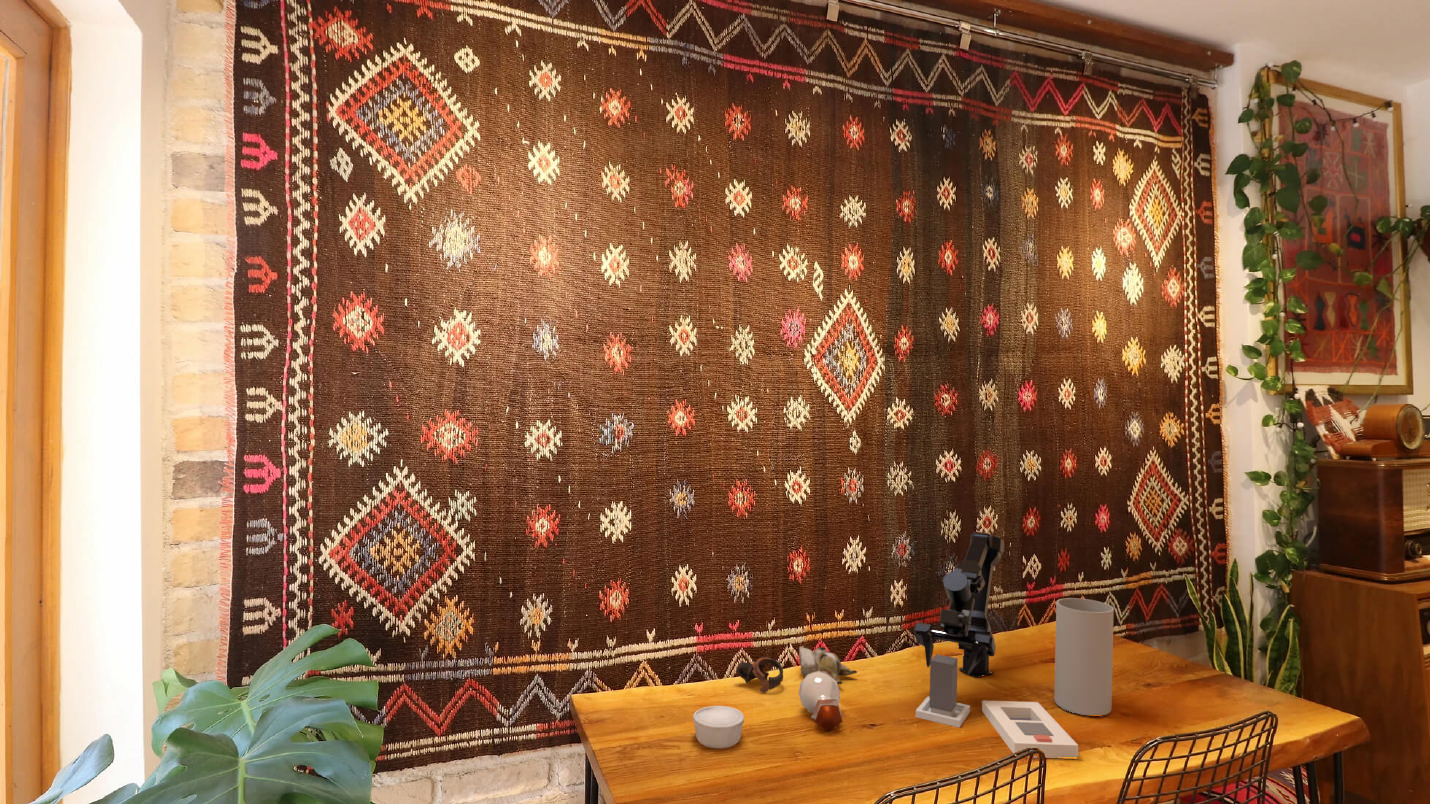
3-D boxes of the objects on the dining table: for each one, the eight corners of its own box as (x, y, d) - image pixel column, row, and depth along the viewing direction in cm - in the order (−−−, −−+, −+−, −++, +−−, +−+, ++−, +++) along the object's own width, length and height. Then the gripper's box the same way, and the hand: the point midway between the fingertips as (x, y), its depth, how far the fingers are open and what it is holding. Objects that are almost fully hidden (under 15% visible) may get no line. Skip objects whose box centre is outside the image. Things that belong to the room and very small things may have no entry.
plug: (935, 708, 181) (936, 654, 181) (956, 713, 178) (957, 658, 178) (929, 715, 177) (930, 660, 176) (951, 720, 174) (952, 664, 174)
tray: (927, 704, 184) (927, 696, 184) (969, 713, 179) (970, 705, 179) (915, 718, 176) (915, 710, 176) (959, 729, 170) (959, 720, 170)
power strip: (982, 712, 180) (982, 697, 180) (1037, 714, 179) (1037, 699, 179) (1014, 757, 158) (1015, 740, 158) (1078, 759, 157) (1078, 742, 157)
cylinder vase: (1118, 720, 177) (1120, 614, 176) (1061, 715, 179) (1063, 610, 179) (1102, 699, 189) (1104, 600, 189) (1049, 694, 191) (1051, 596, 191)
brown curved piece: (776, 679, 200) (786, 658, 196) (776, 708, 192) (786, 686, 188) (733, 668, 200) (741, 646, 196) (730, 696, 191) (739, 674, 187)
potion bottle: (819, 708, 184) (833, 745, 169) (787, 686, 183) (798, 721, 168) (842, 678, 184) (859, 712, 168) (811, 656, 182) (824, 688, 167)
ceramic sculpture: (809, 635, 208) (859, 649, 200) (807, 666, 209) (857, 681, 200) (790, 646, 199) (842, 661, 191) (788, 678, 200) (840, 694, 191)
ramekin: (714, 723, 172) (715, 700, 172) (754, 738, 165) (754, 714, 165) (682, 740, 163) (682, 716, 163) (722, 757, 156) (722, 731, 156)
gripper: (916, 589, 189) (901, 645, 180) (994, 601, 179) (982, 661, 170) (924, 613, 196) (910, 668, 186) (1000, 626, 186) (989, 685, 177)
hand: (947, 670), depth 180 cm, fingers open, 9 cm apart
